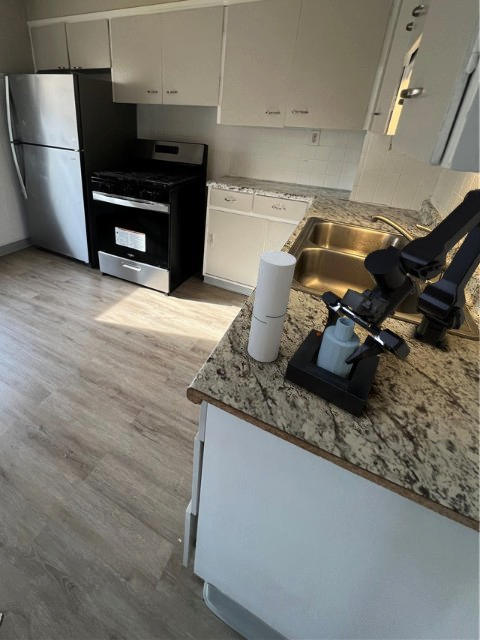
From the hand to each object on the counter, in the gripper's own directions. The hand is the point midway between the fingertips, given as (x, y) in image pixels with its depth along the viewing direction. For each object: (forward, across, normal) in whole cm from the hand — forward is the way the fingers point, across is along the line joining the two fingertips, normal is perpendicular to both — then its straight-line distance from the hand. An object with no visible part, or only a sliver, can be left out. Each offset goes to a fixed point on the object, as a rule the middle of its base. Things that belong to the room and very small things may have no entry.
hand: (332, 352), depth 65 cm
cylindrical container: (+11, -12, -1) cm, 16 cm away
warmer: (+4, 0, +6) cm, 7 cm away
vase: (+4, 0, +6) cm, 7 cm away
